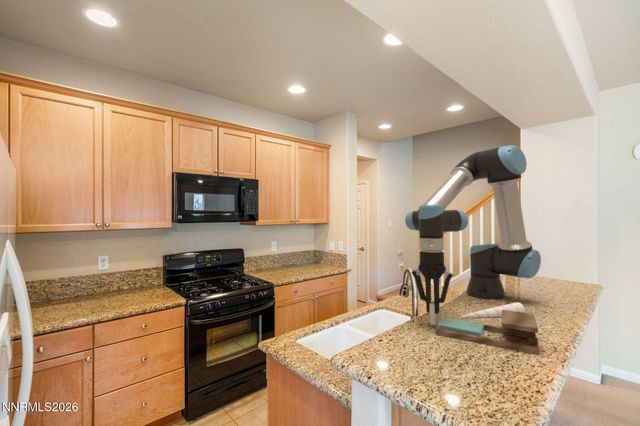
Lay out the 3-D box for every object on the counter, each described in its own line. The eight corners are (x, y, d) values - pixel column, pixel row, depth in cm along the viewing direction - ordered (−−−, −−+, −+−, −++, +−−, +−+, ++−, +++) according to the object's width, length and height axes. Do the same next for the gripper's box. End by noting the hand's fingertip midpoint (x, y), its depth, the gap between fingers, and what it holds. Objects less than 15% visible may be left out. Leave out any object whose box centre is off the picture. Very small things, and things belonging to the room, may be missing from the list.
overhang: (436, 334, 88) (436, 312, 88) (444, 320, 99) (443, 301, 100) (538, 354, 74) (537, 328, 75) (534, 336, 86) (533, 313, 86)
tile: (437, 333, 90) (437, 324, 90) (443, 325, 97) (443, 316, 97) (480, 342, 83) (480, 332, 83) (484, 333, 90) (484, 324, 90)
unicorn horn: (454, 315, 106) (453, 302, 106) (517, 313, 107) (516, 300, 107) (460, 319, 101) (460, 306, 101) (526, 318, 102) (526, 304, 102)
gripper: (408, 251, 95) (410, 322, 95) (451, 253, 88) (453, 330, 88) (414, 248, 101) (416, 315, 101) (454, 250, 94) (456, 322, 94)
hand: (433, 322), depth 94 cm, fingers closed
